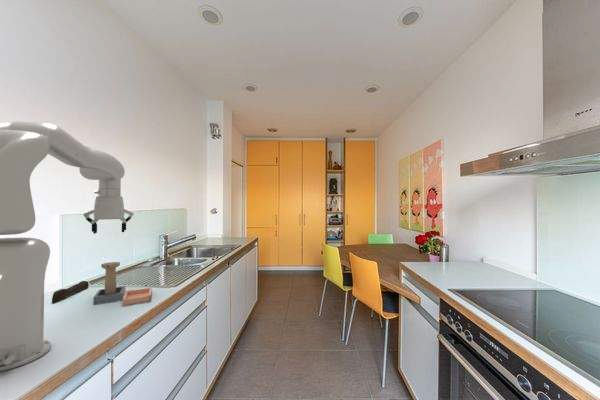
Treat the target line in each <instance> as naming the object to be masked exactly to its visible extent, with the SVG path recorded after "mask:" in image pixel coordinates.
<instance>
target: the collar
mask: <svg viewBox="0 0 600 400" xmlns="http://www.w3.org/2000/svg"><path fill="white" fill-rule="evenodd" d="M125 293H126V285H124V286H116V293H115V294H109V295H105V288H100V289H98V291H97V292H96V293H95V294H94V296H93V298H92V299H93V301H92V303H93V304H92V305H93V306H94V305H95V306H96V305H101V304H107V303H114V302H120V301H122V300H123V297H124V295H125Z"/></svg>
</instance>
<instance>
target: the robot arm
mask: <svg viewBox="0 0 600 400" xmlns="http://www.w3.org/2000/svg"><path fill="white" fill-rule="evenodd" d="M48 155H49V156H51V157H53V158H54V159H56V160H58V161H59V162H61V163H63V164H65V165H66V166H70V167H74V168H75V167H76V168H79V170H78V171H79V173H80V175H81V176H82V177H83V178H85V179H86V180H91V181H98V189H95V190H94V194H97V195H96V196H95V199H94V206H93V209H92V210H89V211H87V212H85V213H83V217H84V218H85V219H86V221H87V222H88V223H90V224H91V232H92V233H93V234H95V235H96V234H97V233H98V223H97V222H99V220H120V221H121V222H122V223H121V233H125V231H126V230H127V222H129V221H130V220H131V219H132V218H133V216H134V215H135V213H134V212H132V211H130V210H128V209H125V204H124V203H125V202H124V199H123V196H121V194H122V193H121V192H122V191H121V189H122V188H121V187H122V185H121V184H122V183H121V182H122V180H121V179H123V178H124V176H125V174H126V173H125V172H126V171H125V166H123V164H122V163H121V161H119V159H117V158H116V157H115V156H113V155H111V154H109V153H107V152H104V151H101V150H98V149H96V148H92V147H90V146H86V145H84V144H83V143H82V142H80V141H79V140H78V139H76V138H75V137H74V136H72V135H71V134H69V133H68V132H67V131H66V130H64V129H62V127H60V126H58V125H56V124H53V123H49V122H41V121H40V122H37V121H19V120H18V121H16V120H14V121H7V122H0V236H9V235H20V234H25V233H28V232H29V231H31V230H32V229H33V228H34V227H35V225H36V214H35V213H36V212H35V207H34V201H33V196H32V191H31V184H30V183H31V182H30V181H31V176H32V173H33V172H34V170H35V168H37V166H38V165H39V164H40V163H41V162H43V160H44V159H45V158H46V157H47V156H48ZM92 214H93V219H92V218H91V217H90V215H92ZM125 214H126V215H127V214H128V217H127V218H125ZM50 248H51V247H50V246H49V244H48V243H47V242H45V241H44V240H42V239H39V238H36V237H35V238H34V237H1V238H0V276H1V277H0V372H3V371H7V370H11V369H14V368H18V367H20V366H23V365H26V364H28V363H31V362H34V361H35V360H37V359H39V358H40V357H43V356H44V355H45V354H46V353H48V352H49V351H50V350H51V348H52V342H51V341H50V340H46V339H44V329H45V328H44V326H45V325H44V324H45V322H44V321H45V315H44V314H45V279H46V272H47V267H48V263H49V260H50V256H51V249H50Z"/></svg>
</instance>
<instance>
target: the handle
mask: <svg viewBox="0 0 600 400" xmlns="http://www.w3.org/2000/svg"><path fill="white" fill-rule="evenodd" d="M120 266H121V262H120V261H114V262H113V261H111V262H103V263H101V265H100V267H101V269H104V270H105V279H104V289H105V295H109V294H115V293H116V287H117V279H116V278H117V275H116V274H117V273H116V272H117V271H116V269H118V267H120Z"/></svg>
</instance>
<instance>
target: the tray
mask: <svg viewBox="0 0 600 400" xmlns="http://www.w3.org/2000/svg"><path fill="white" fill-rule="evenodd" d="M152 288H153V287H144V288H138V289H132V290H125V295H124V297H123V300H121V301H122V302H121V303H122V305H121V306H122V307H126V306H133V305H138V304H145V302H146V303H150V301H152V292H153V291H152V290H153V289H152Z"/></svg>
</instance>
